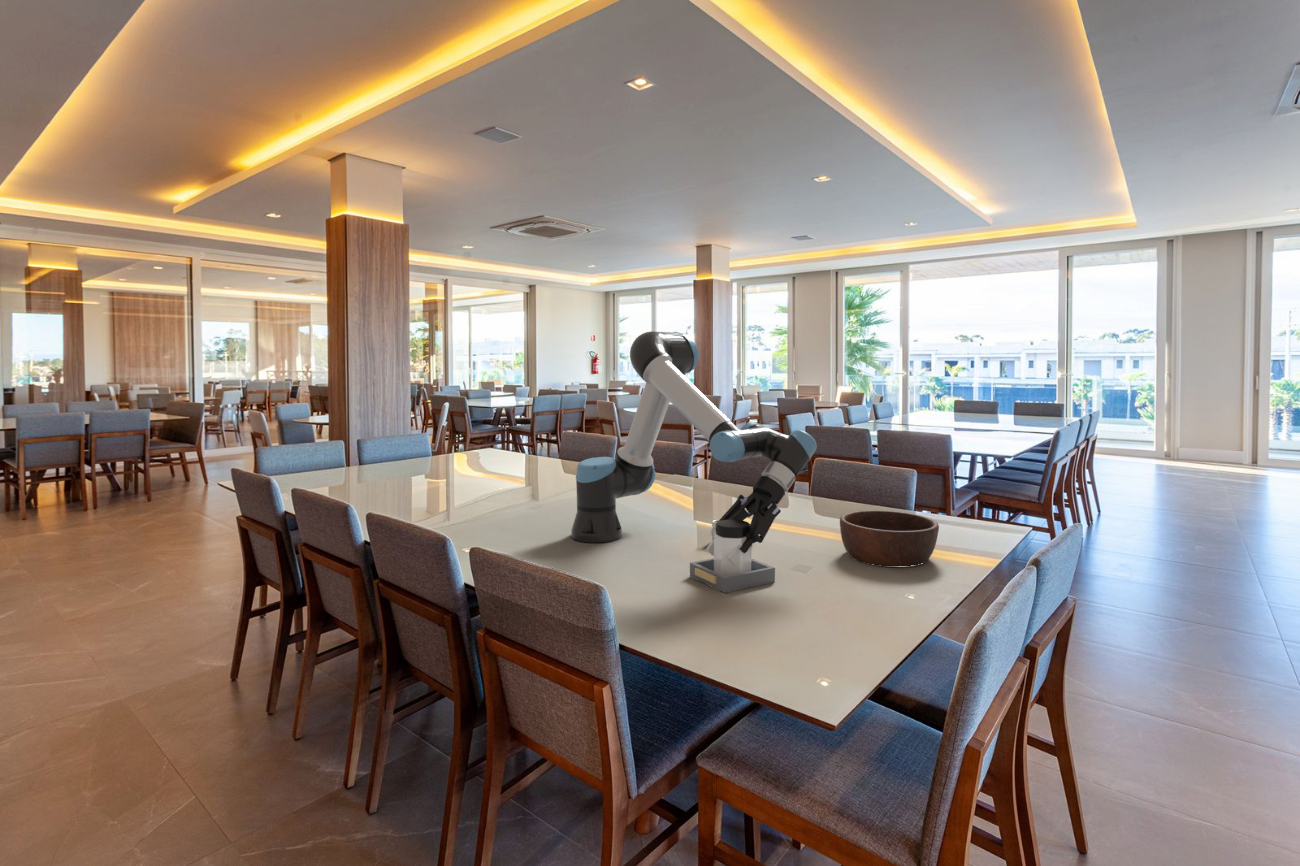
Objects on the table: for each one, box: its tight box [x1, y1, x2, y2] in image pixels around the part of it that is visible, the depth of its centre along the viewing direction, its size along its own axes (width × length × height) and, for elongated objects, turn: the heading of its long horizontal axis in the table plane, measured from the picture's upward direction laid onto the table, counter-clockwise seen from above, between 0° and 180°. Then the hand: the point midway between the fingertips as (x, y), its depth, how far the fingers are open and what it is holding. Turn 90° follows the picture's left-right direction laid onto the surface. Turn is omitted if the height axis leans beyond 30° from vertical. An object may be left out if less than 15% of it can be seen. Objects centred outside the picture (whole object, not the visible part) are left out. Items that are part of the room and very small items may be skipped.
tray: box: [689, 557, 776, 594], centre depth 164 cm, size 14×16×4 cm
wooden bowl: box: [839, 509, 940, 567], centre depth 182 cm, size 25×25×10 cm
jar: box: [713, 520, 753, 576], centre depth 164 cm, size 9×8×12 cm
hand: (720, 557), depth 162 cm, fingers closed on jar, 8 cm apart
